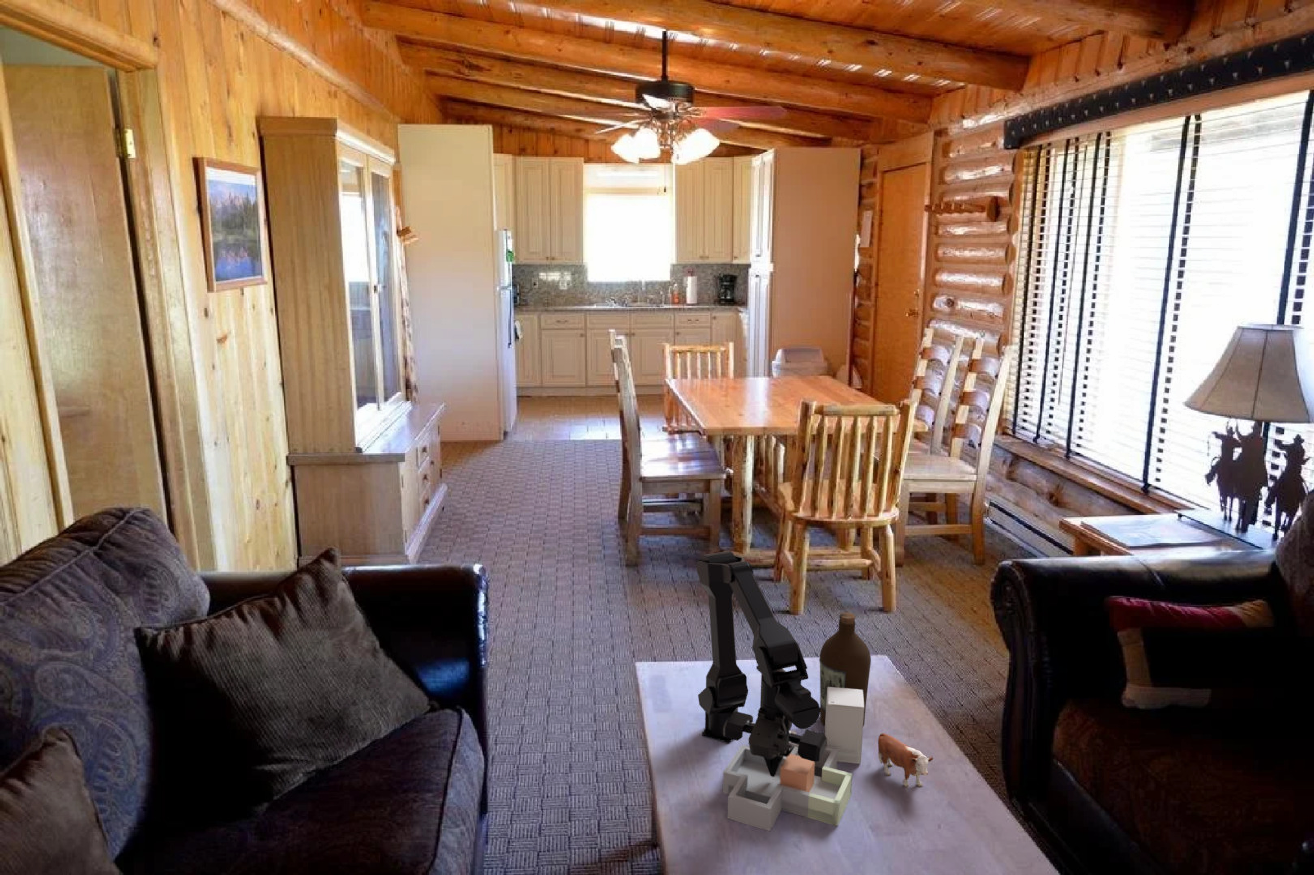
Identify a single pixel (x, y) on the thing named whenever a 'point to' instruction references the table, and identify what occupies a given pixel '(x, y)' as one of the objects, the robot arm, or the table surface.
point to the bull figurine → (902, 758)
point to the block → (797, 773)
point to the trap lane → (784, 791)
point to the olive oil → (844, 662)
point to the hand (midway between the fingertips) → (773, 775)
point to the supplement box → (845, 723)
